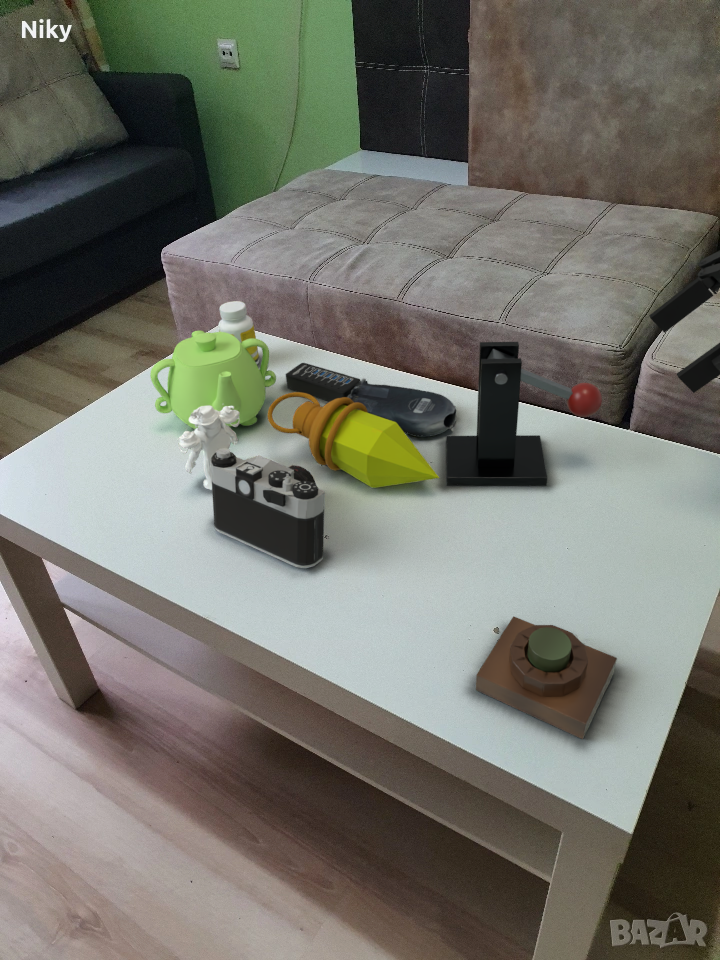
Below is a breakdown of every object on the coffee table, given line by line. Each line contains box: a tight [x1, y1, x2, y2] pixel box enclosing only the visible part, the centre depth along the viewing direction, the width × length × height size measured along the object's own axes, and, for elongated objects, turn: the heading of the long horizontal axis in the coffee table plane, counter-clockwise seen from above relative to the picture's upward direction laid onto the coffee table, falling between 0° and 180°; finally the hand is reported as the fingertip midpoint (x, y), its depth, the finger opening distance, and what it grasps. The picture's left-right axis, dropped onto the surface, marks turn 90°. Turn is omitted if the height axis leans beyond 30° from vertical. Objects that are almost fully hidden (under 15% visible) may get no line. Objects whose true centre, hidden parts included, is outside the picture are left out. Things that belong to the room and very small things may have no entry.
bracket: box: [445, 341, 548, 487], centre depth 90 cm, size 12×9×16 cm
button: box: [528, 627, 571, 672], centre depth 66 cm, size 4×4×2 cm
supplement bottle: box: [217, 300, 260, 365], centre depth 117 cm, size 5×5×10 cm
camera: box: [210, 448, 326, 569], centre depth 85 cm, size 15×11×10 cm
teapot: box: [149, 330, 277, 430], centre depth 104 cm, size 16×14×13 cm
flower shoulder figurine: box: [177, 403, 240, 491], centre depth 92 cm, size 9×4×12 cm, turn 142°
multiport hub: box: [285, 362, 361, 402], centre depth 111 cm, size 4×11×2 cm, turn 55°
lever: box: [487, 349, 603, 418], centre depth 87 cm, size 14×4×4 cm, turn 85°
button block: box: [475, 616, 618, 740], centre depth 67 cm, size 10×8×4 cm
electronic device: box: [347, 377, 457, 437], centre depth 104 cm, size 9×6×15 cm
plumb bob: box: [267, 391, 440, 489], centre depth 94 cm, size 9×9×25 cm
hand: (669, 352), depth 84 cm, fingers open, 13 cm apart
